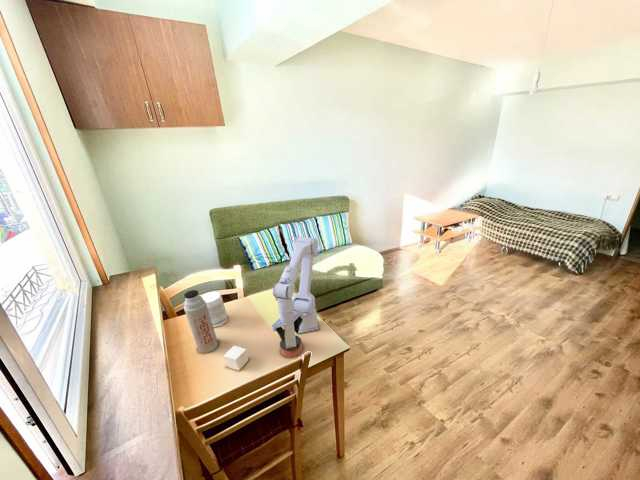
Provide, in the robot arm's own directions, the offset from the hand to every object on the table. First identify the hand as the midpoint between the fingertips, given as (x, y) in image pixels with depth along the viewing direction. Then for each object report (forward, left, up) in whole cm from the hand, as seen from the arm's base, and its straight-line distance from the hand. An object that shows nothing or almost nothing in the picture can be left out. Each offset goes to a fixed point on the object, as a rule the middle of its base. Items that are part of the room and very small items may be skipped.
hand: (289, 335), depth 116 cm
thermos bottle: (+35, -13, -8) cm, 38 cm away
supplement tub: (+33, -30, -8) cm, 45 cm away
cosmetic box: (0, 0, -4) cm, 4 cm away
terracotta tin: (0, 0, -8) cm, 8 cm away
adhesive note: (+22, +1, -8) cm, 23 cm away
